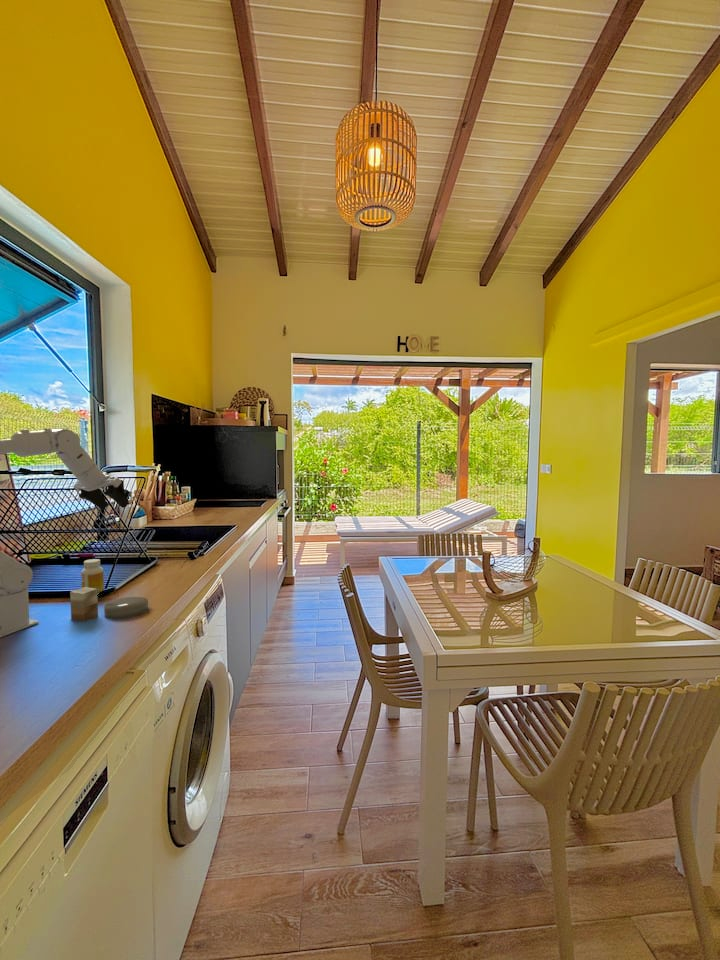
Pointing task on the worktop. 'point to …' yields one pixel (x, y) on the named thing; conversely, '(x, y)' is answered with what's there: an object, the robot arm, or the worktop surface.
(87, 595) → the block
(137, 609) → the stand
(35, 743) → the worktop surface
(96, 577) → the supplement bottle
